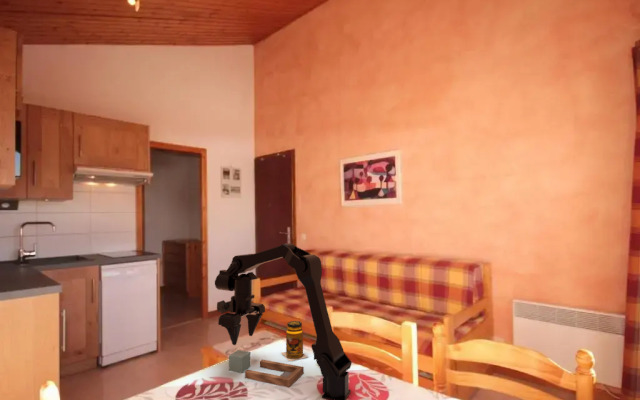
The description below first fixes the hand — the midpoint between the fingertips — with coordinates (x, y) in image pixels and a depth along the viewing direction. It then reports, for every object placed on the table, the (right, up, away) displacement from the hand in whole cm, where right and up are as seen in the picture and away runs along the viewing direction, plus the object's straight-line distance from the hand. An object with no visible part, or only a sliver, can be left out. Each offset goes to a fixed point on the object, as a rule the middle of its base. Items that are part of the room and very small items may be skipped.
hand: (242, 340), depth 116 cm
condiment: (+16, -10, +11) cm, 22 cm away
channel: (+10, -9, -5) cm, 15 cm away
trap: (+15, -9, -7) cm, 19 cm away
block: (-1, -10, 0) cm, 10 cm away
